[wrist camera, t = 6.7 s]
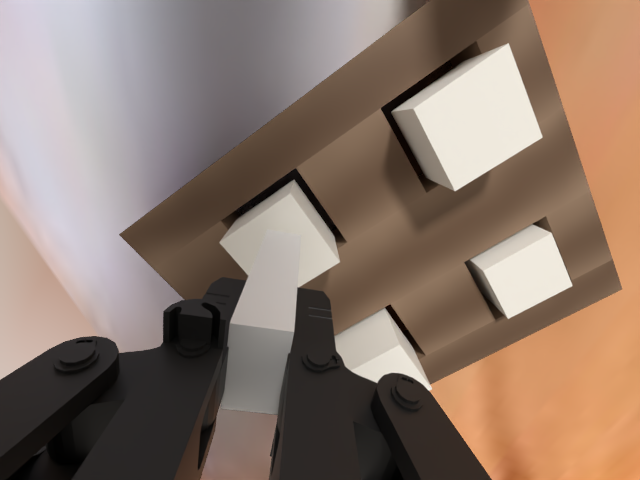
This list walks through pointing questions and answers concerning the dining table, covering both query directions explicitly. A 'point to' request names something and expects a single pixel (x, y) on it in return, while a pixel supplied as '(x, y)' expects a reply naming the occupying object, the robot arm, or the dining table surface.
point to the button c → (469, 119)
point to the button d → (520, 271)
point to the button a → (285, 216)
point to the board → (403, 195)
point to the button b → (378, 349)
